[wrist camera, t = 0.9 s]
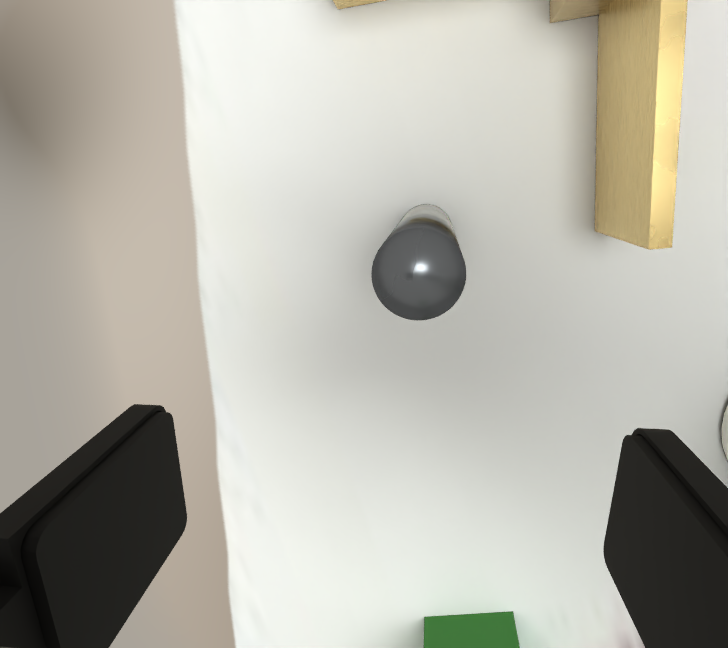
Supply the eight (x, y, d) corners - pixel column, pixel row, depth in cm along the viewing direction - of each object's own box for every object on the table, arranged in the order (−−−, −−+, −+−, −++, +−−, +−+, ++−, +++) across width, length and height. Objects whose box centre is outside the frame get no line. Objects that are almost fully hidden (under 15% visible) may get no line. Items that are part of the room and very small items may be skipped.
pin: (449, 201, 31) (463, 222, 17) (453, 253, 32) (468, 316, 17) (397, 207, 31) (366, 233, 17) (402, 258, 32) (376, 323, 18)
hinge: (676, -136, 24) (806, -303, 16) (656, 225, 29) (747, 245, 21) (329, -62, 27) (282, -170, 19) (366, 253, 32) (342, 280, 24)
